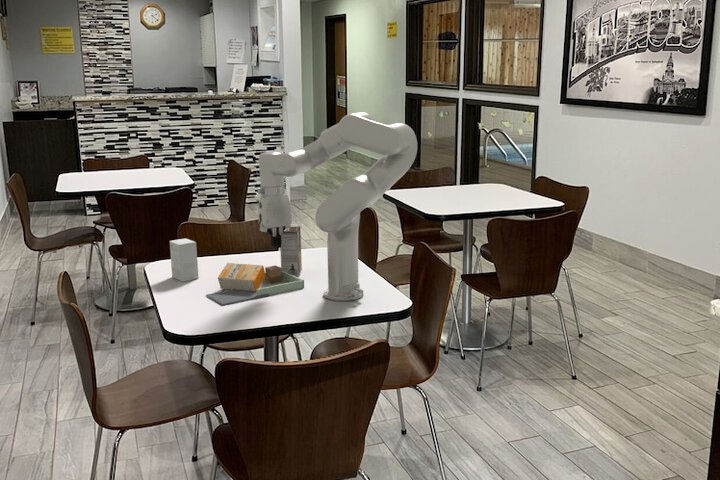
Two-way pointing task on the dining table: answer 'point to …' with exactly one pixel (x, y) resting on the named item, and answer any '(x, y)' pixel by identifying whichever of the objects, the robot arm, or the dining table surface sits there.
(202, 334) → the dining table surface
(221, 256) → the dining table surface
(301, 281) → the tray
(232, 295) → the mat
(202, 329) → the dining table surface
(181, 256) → the small box
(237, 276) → the supplement box
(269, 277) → the walnut block
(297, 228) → the coffee box
